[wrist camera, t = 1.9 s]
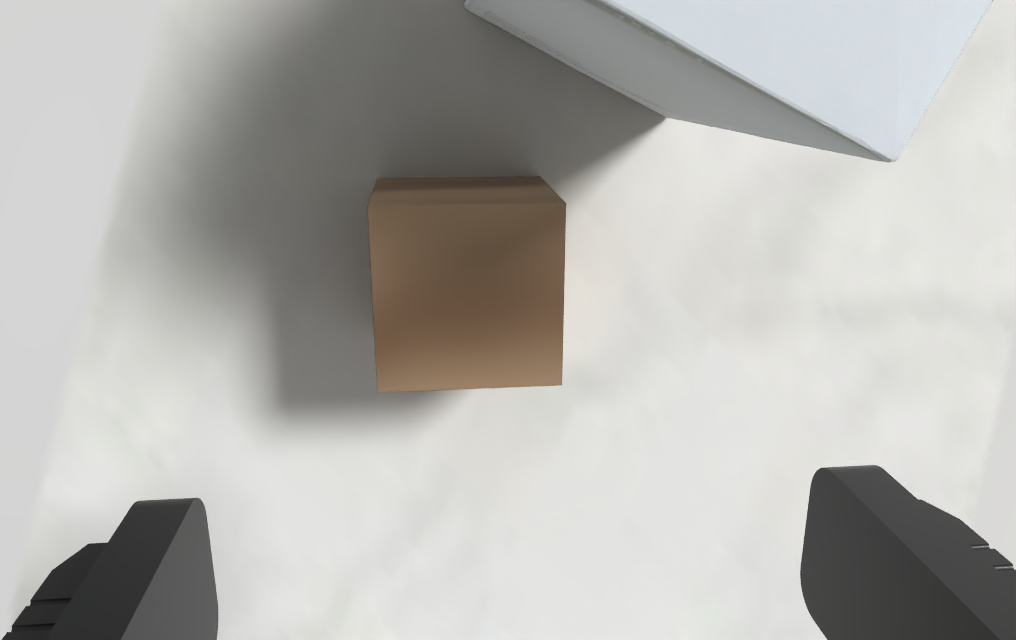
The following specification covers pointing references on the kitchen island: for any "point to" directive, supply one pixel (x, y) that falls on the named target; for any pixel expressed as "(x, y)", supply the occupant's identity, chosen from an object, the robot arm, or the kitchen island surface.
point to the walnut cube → (467, 282)
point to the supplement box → (761, 60)
